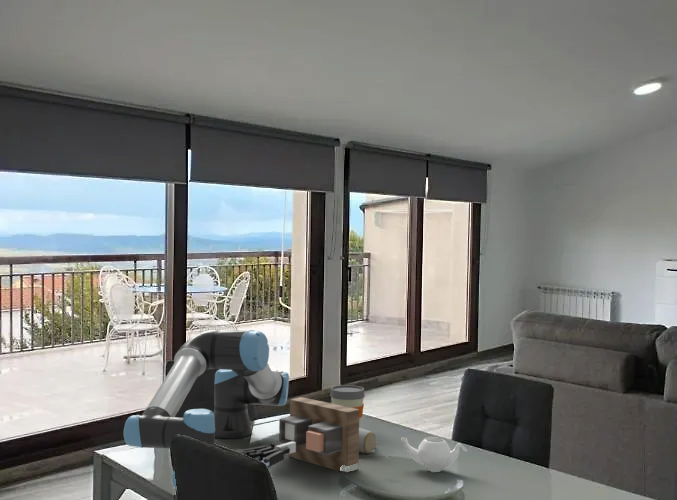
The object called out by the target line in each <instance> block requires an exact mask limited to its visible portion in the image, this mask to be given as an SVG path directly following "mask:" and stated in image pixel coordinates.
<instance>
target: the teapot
mask: <svg viewBox="0 0 677 500" xmlns="http://www.w3.org/2000/svg"><path fill="white" fill-rule="evenodd" d="M400 440H401V442H402V444H403V446H404V448H405V450H406V451H407V453H408V455H409V456H410V457H411V459H413V461H415V463H417V464H418V465H421V466H425V468H426V467H428V468H433V469H436V468H442V469H445V468H448V467H449V466H451V465H452V464H453V463H455V461H456V460H457V458H458V456H459V454H460V448H461V449H462V451H463V452H469V451H468V449H467V448H466V447H465V446H464V444H462V443H460V442H459V443H457V444H456V445H455V446H454V448H453V449H452V450H451V448H450V445H449V444H448V442H447V441H446V440H445V439H444V438H442V437H439V436H428V437H425V438H424V439H423V440H422V441H421V442H420V444H419V446H417V447H418V448H415V447H413V446H411V444H410V443H409V441H408V438H407V437H405V436H402V437H400Z"/></svg>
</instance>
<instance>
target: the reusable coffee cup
mask: <svg viewBox="0 0 677 500" xmlns="http://www.w3.org/2000/svg"><path fill="white" fill-rule="evenodd" d="M329 397H330V398H331V404H336V405H341V406H345V407H350V408H355V409H359V428H361V427H360V425H361V419H362V417H363V413H364V405H365V404H364V398H365V388H364V387H363V386H358V385H351V384H349V385H348V384H347V385H346V384H343V385H341V384H339V385H334V386H332V387H331V388H330V394H329Z"/></svg>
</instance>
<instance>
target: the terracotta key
mask: <svg viewBox="0 0 677 500" xmlns="http://www.w3.org/2000/svg"><path fill="white" fill-rule="evenodd" d="M306 449H309V450H312V451H316V452H321V451H324V432H320V431H316V430H310V431H307V432H306Z"/></svg>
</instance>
